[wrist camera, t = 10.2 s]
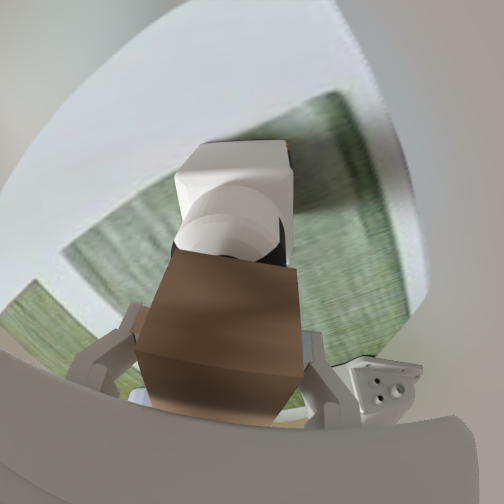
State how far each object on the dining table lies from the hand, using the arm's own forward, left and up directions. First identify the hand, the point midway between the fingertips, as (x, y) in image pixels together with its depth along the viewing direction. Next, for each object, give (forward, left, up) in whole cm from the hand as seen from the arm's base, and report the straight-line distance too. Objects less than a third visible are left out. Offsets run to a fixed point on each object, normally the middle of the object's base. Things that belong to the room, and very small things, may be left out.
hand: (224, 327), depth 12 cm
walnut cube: (0, 0, -2) cm, 2 cm away
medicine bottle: (0, 0, -15) cm, 15 cm away
